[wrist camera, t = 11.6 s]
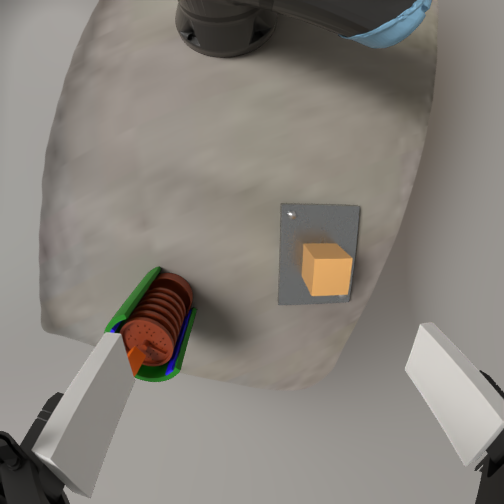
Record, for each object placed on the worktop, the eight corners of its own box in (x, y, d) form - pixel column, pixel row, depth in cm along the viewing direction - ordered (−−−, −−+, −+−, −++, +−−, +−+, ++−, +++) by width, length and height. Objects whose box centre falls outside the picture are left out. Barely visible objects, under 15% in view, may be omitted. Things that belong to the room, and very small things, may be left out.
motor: (208, 296, 45) (188, 382, 26) (179, 330, 47) (150, 417, 28) (157, 258, 43) (103, 326, 24) (131, 296, 45) (78, 371, 26)
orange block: (303, 243, 41) (314, 259, 35) (336, 243, 42) (352, 258, 35) (301, 275, 43) (311, 296, 36) (333, 275, 43) (347, 294, 37)
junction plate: (280, 203, 41) (286, 209, 35) (357, 205, 41) (372, 211, 36) (277, 302, 45) (282, 319, 40) (347, 299, 46) (358, 315, 40)
